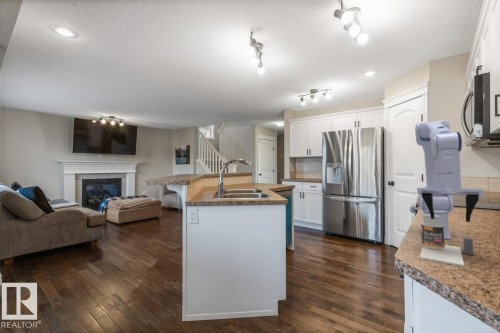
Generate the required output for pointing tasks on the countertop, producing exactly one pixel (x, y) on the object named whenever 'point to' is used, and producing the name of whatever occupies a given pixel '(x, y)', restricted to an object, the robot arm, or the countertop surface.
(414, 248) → the countertop surface
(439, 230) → the pill bottle
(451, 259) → the pull board
